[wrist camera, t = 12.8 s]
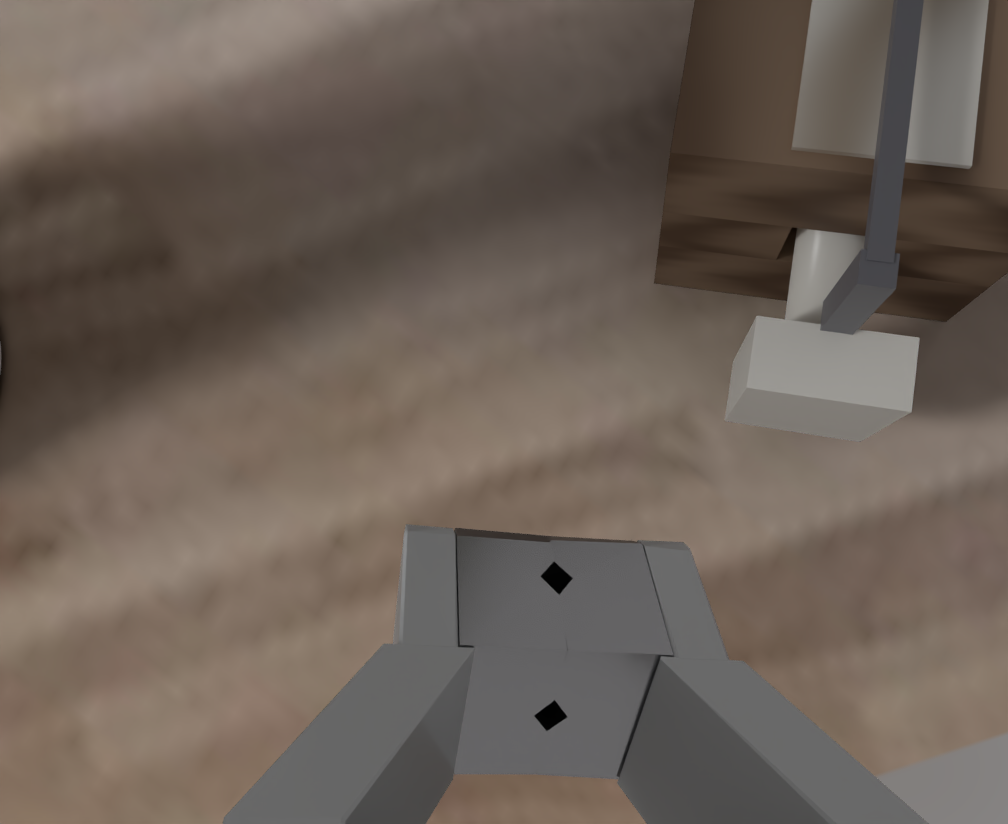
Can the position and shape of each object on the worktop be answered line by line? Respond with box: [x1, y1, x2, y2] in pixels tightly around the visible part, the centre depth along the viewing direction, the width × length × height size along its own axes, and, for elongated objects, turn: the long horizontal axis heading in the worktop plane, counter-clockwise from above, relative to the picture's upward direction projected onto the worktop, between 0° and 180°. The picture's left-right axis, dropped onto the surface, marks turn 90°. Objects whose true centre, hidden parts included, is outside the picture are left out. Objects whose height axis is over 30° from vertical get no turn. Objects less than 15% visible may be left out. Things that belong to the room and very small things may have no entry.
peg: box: [725, 0, 924, 442], centre depth 30 cm, size 5×16×10 cm, turn 170°
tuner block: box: [654, 0, 1008, 322], centre depth 33 cm, size 12×12×12 cm
